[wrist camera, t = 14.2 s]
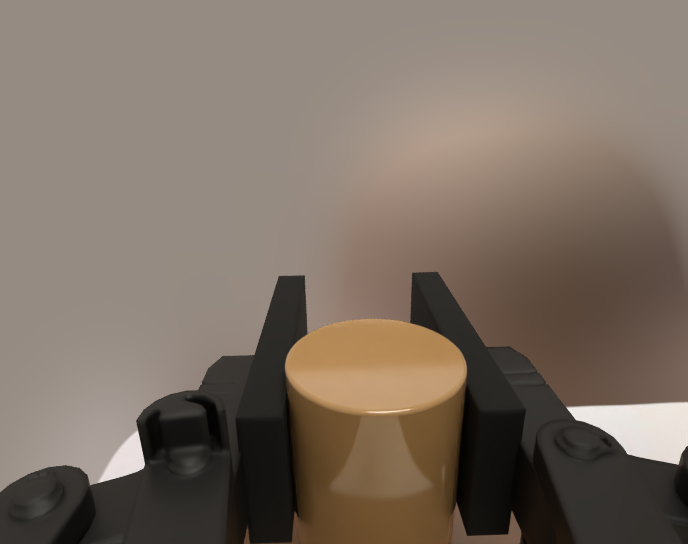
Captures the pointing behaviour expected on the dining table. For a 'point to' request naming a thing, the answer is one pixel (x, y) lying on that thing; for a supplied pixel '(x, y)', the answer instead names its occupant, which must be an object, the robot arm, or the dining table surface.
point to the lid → (377, 436)
